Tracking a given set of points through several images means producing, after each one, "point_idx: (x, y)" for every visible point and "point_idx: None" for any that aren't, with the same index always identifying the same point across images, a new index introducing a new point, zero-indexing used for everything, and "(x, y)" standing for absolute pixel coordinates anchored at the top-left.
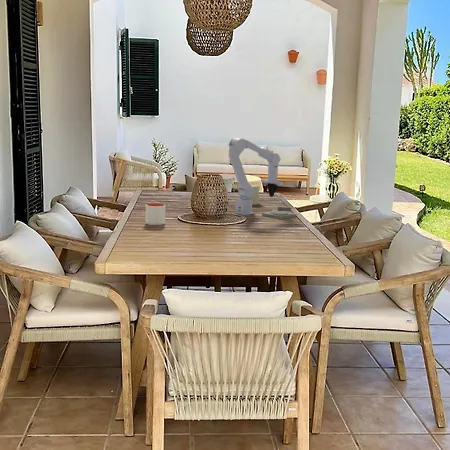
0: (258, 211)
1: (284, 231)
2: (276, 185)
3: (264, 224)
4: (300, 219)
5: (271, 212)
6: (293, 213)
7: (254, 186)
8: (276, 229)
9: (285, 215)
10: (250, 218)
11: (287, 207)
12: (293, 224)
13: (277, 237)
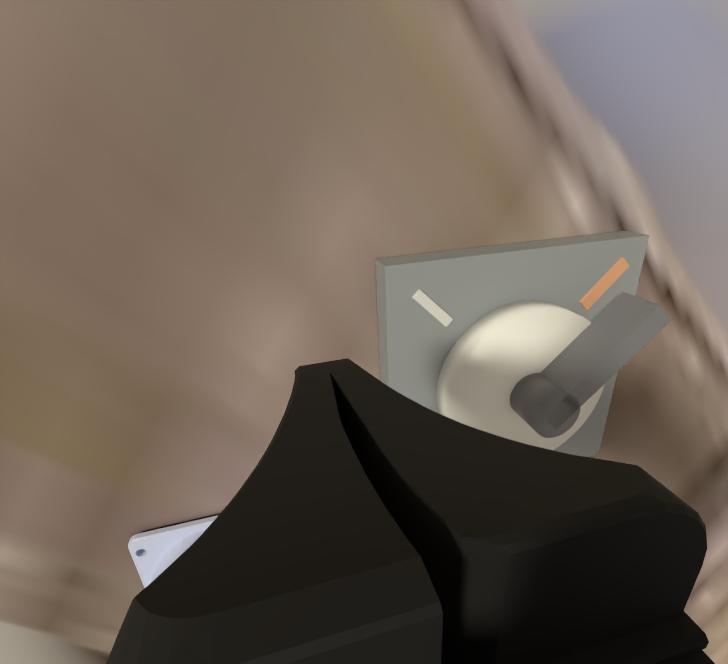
0: (167, 385)
1: (716, 600)
2: (674, 629)
3: None
4: (696, 309)
5: None
6: (614, 241)
7: None
8: None
9: (601, 397)
10: None
11: (628, 343)
12: (706, 477)
13: (723, 660)
